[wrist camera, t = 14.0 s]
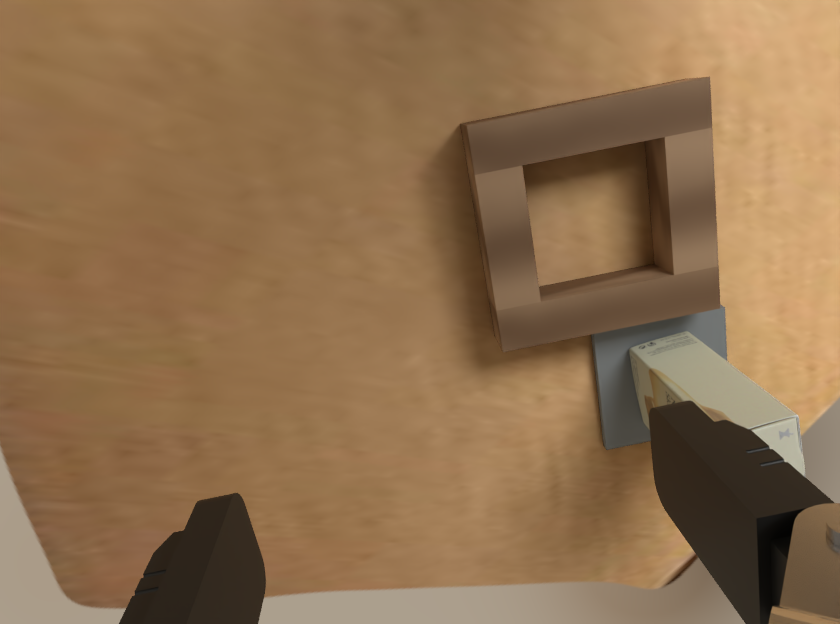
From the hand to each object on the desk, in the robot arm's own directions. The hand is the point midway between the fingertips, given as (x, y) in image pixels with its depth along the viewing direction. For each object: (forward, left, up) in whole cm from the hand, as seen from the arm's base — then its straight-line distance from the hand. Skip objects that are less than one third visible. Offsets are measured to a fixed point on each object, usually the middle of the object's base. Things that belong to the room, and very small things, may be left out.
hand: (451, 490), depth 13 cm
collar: (+2, +12, -30) cm, 32 cm away
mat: (+14, +16, -30) cm, 37 cm away
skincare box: (+14, +16, -30) cm, 37 cm away
